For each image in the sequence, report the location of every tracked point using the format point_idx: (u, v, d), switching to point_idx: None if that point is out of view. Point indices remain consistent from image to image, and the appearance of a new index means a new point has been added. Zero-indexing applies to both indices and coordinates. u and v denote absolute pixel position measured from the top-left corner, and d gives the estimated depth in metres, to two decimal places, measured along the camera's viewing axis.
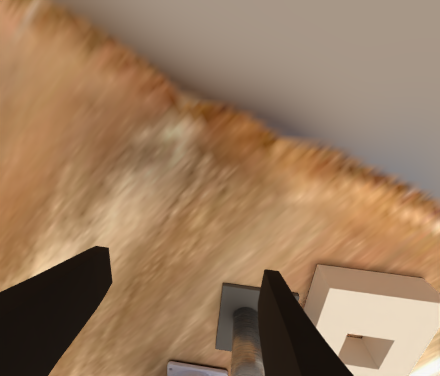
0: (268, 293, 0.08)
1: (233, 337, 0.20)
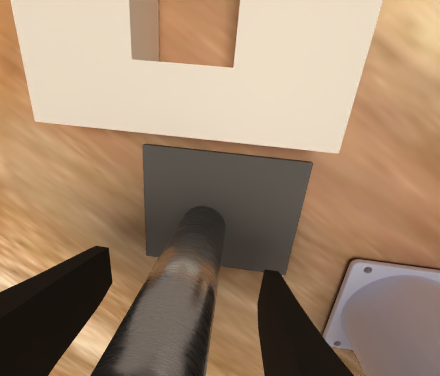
0: (268, 293, 0.08)
1: None
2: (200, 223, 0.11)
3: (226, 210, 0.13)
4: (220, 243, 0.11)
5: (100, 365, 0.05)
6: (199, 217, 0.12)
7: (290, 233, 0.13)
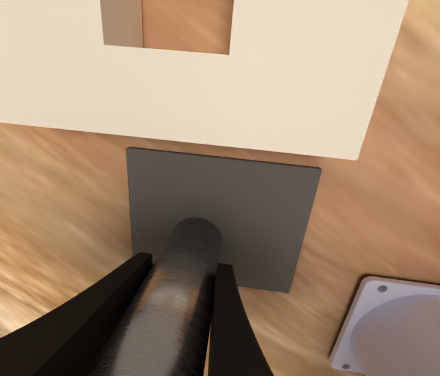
0: None
1: None
2: (191, 239, 0.10)
3: (222, 222, 0.12)
4: (215, 263, 0.09)
5: None
6: (191, 232, 0.10)
7: (295, 248, 0.12)
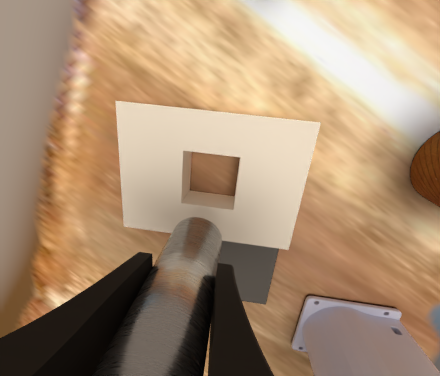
0: None
1: None
2: (191, 240, 0.10)
3: None
4: (215, 263, 0.10)
5: None
6: (191, 232, 0.10)
7: (268, 279, 0.21)
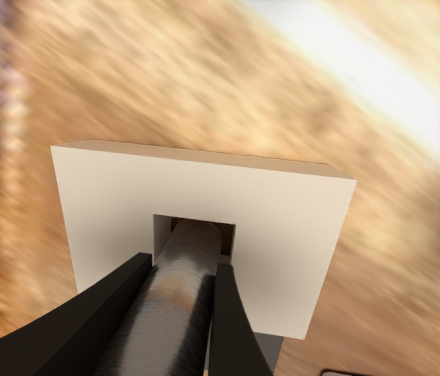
0: None
1: None
2: (191, 239, 0.10)
3: None
4: (215, 262, 0.10)
5: None
6: (191, 232, 0.10)
7: (274, 354, 0.17)
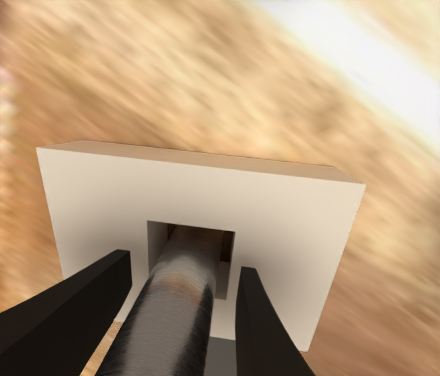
0: (241, 289, 0.08)
1: None
2: (195, 231, 0.10)
3: (222, 345, 0.16)
4: (217, 252, 0.10)
5: None
6: None
7: None
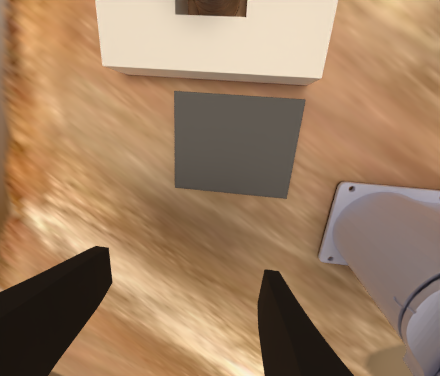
0: (268, 293, 0.08)
1: (203, 4, 0.12)
2: None
3: (239, 143, 0.17)
4: None
5: None
6: None
7: (289, 160, 0.17)
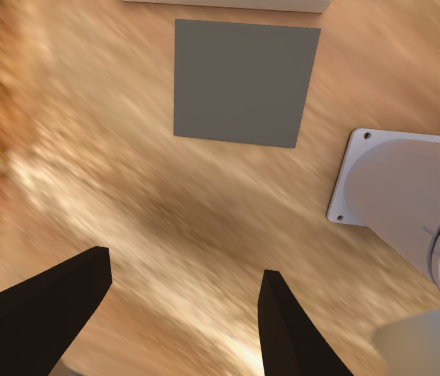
0: (268, 293, 0.08)
1: None
2: None
3: (245, 82, 0.15)
4: None
5: None
6: None
7: (300, 103, 0.15)
